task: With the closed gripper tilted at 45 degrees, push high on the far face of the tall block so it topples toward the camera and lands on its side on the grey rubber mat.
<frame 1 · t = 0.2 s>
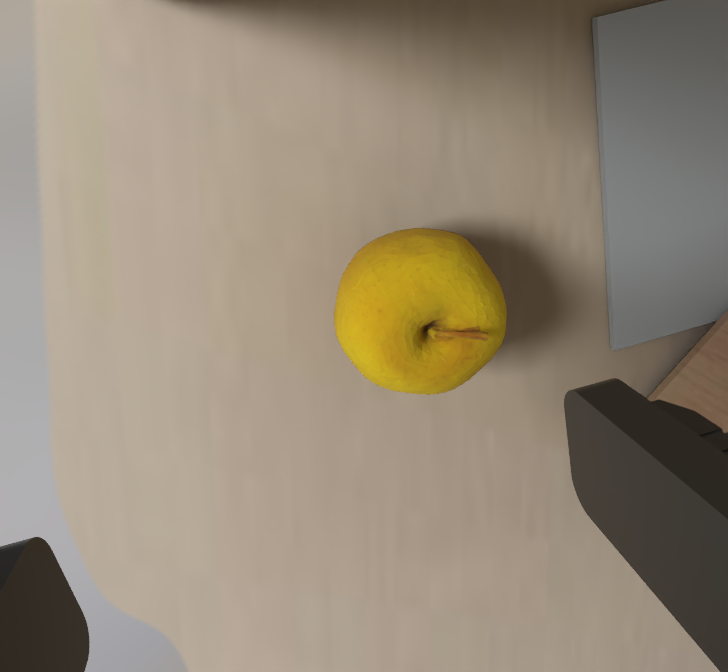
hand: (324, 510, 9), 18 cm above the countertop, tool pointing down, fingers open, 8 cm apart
apple: (393, 278, 27), on the countertop
block: (717, 406, 33), on the countertop, touching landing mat
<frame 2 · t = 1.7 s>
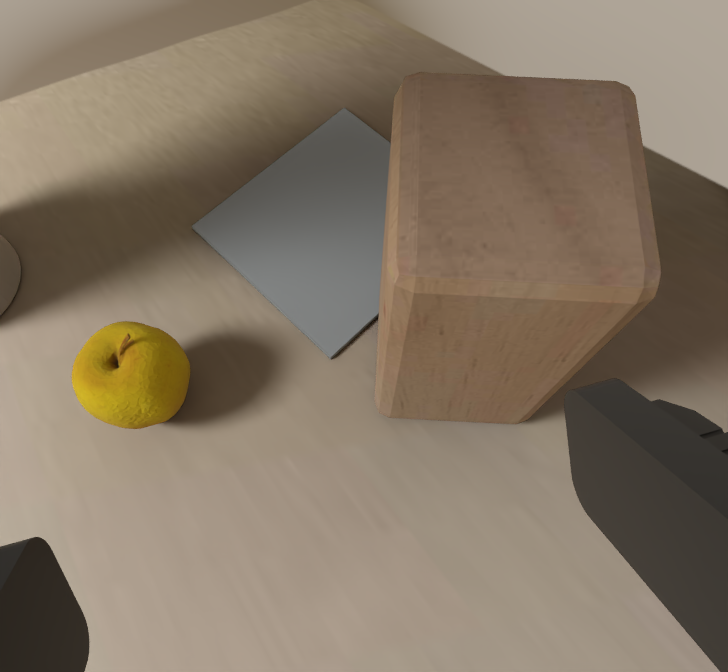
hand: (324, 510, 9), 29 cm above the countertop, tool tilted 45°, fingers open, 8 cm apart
apple: (157, 396, 41), on the countertop
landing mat: (338, 223, 46), on the countertop
block: (449, 353, 42), on the countertop, touching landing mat
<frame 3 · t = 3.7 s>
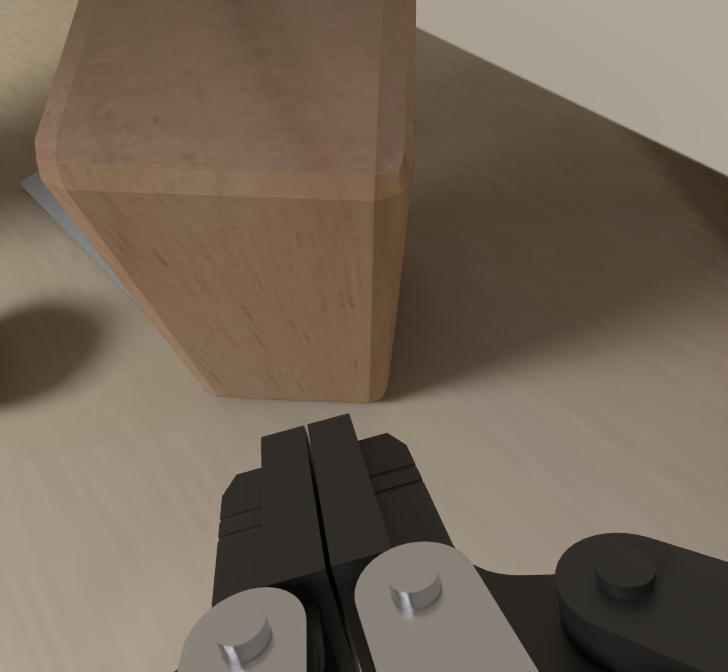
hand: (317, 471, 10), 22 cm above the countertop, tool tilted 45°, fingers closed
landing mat: (189, 178, 40), on the countertop
block: (303, 322, 35), on the countertop, touching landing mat
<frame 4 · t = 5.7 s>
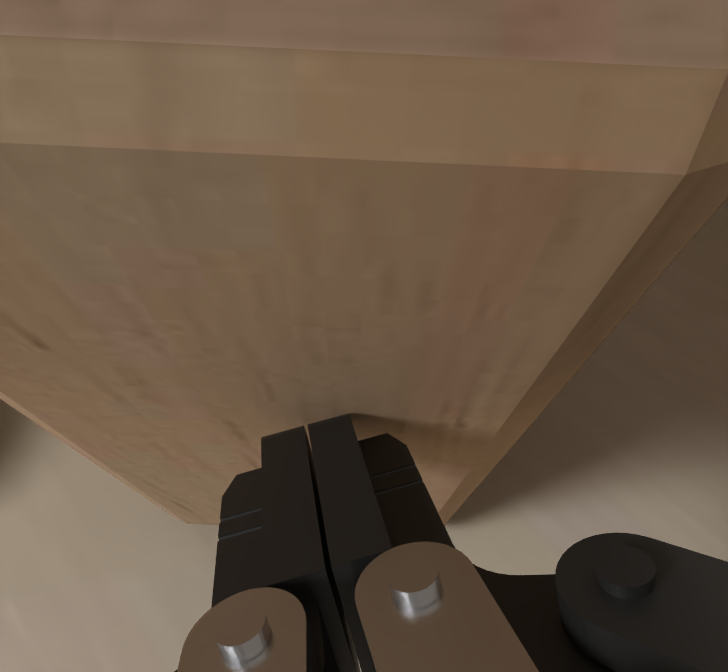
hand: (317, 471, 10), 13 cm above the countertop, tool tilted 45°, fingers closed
block: (317, 402, 24), on the countertop, touching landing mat
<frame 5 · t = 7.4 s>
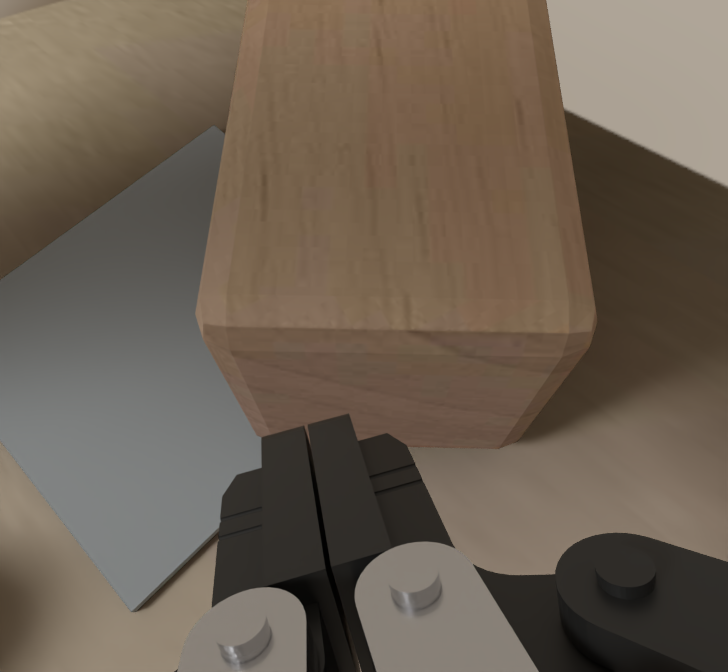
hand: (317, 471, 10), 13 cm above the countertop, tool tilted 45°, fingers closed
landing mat: (182, 328, 26), on the countertop
block: (389, 415, 18), point 6 cm above the countertop, touching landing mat
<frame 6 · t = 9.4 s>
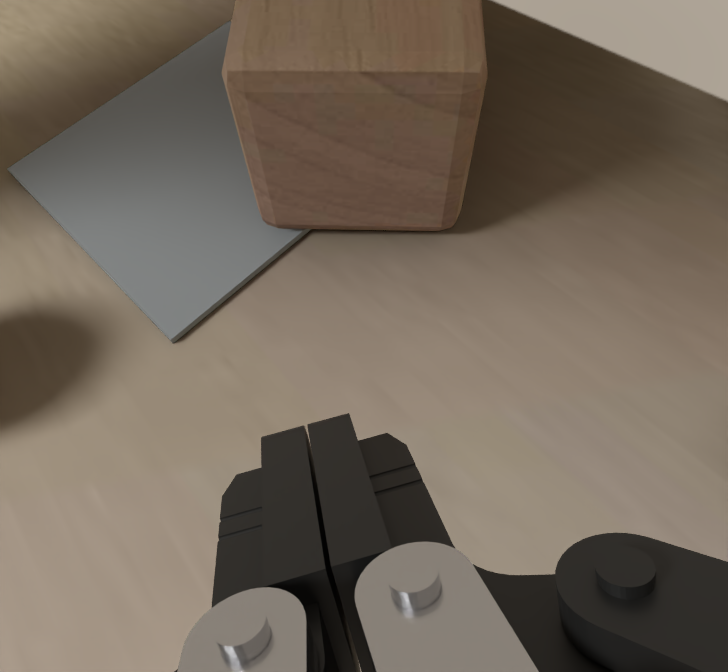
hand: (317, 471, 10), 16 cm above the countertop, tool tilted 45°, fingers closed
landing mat: (206, 163, 34), on the countertop
block: (355, 172, 26), point 6 cm above the countertop, touching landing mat
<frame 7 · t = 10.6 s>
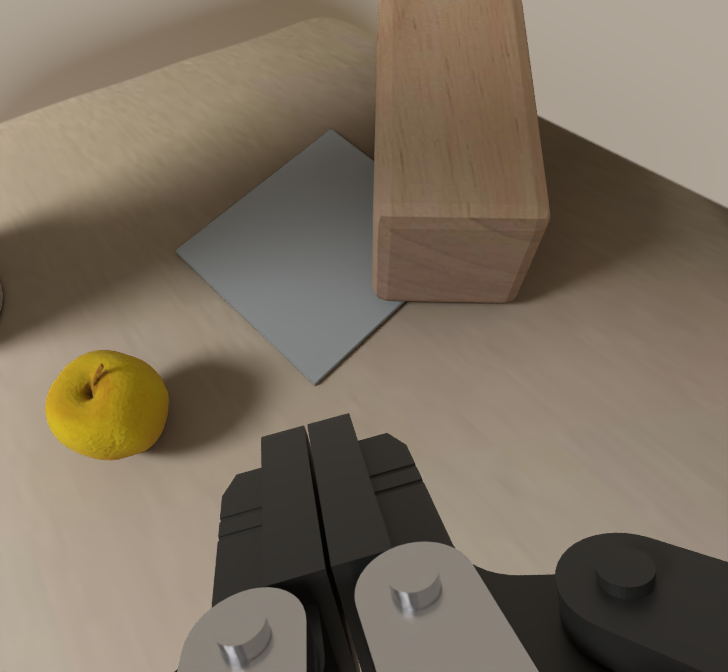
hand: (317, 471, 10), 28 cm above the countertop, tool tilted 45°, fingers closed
apple: (137, 425, 40), on the countertop
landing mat: (323, 246, 45), on the countertop
block: (453, 271, 37), point 6 cm above the countertop, touching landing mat
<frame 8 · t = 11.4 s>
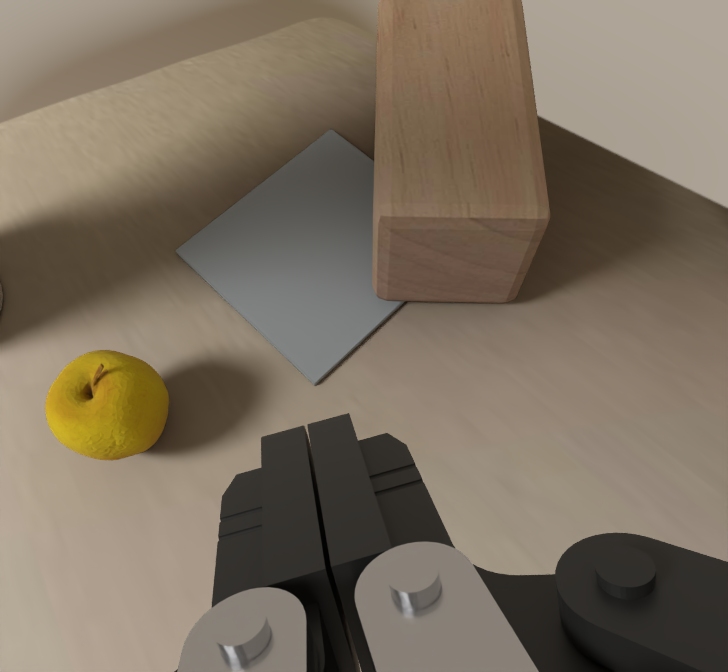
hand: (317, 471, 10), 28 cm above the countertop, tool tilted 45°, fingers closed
apple: (137, 425, 40), on the countertop
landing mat: (323, 246, 45), on the countertop
block: (453, 271, 37), point 6 cm above the countertop, touching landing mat
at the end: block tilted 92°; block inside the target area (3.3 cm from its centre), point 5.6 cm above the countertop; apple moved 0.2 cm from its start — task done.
